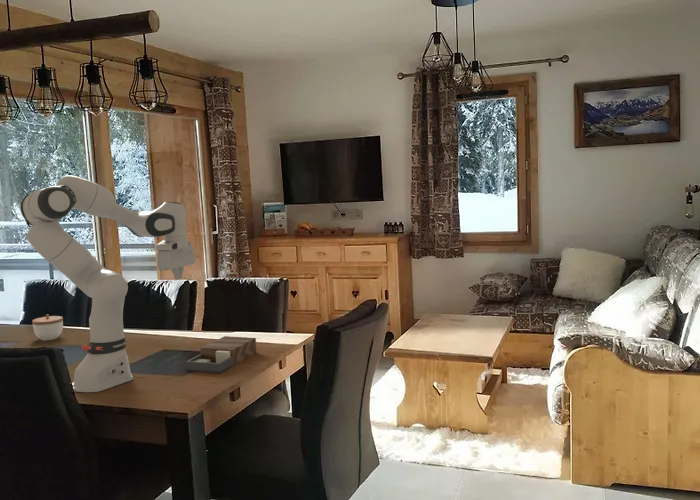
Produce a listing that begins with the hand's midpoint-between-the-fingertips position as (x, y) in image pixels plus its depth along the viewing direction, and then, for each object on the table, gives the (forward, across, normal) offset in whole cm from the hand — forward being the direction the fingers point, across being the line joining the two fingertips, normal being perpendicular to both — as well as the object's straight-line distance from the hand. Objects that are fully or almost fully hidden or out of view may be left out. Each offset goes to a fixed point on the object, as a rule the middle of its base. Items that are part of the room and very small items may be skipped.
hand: (178, 279), depth 245 cm
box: (+31, +11, +19) cm, 38 cm away
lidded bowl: (+31, -13, -80) cm, 87 cm away
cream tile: (+28, +7, +22) cm, 37 cm away
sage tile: (+28, +12, +16) cm, 34 cm away
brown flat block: (+31, -3, +19) cm, 37 cm away
